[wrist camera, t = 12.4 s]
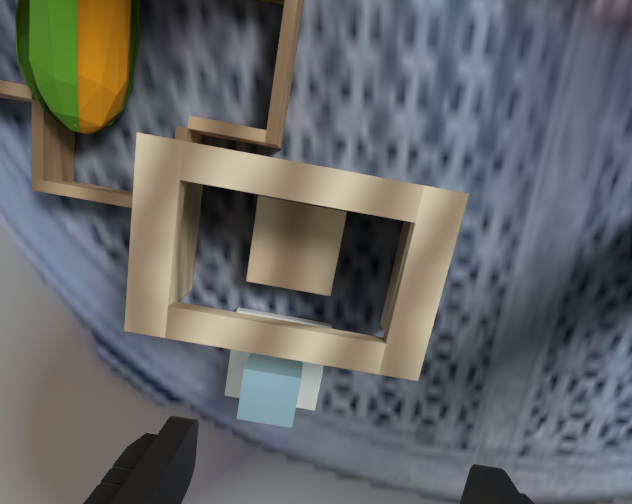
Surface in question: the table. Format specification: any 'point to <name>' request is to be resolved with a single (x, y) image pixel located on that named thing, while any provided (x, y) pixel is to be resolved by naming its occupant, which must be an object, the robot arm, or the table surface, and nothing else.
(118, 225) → the table surface
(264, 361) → the block
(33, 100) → the corn rack
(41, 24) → the corn
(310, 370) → the tile
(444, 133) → the table surface
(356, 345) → the frame
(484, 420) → the table surface
